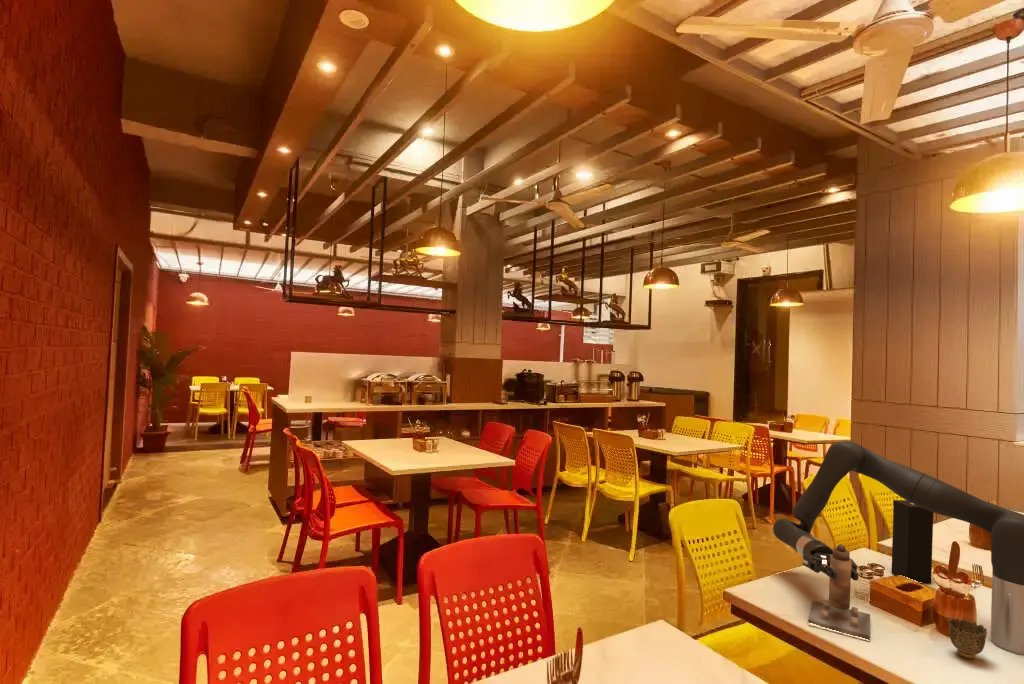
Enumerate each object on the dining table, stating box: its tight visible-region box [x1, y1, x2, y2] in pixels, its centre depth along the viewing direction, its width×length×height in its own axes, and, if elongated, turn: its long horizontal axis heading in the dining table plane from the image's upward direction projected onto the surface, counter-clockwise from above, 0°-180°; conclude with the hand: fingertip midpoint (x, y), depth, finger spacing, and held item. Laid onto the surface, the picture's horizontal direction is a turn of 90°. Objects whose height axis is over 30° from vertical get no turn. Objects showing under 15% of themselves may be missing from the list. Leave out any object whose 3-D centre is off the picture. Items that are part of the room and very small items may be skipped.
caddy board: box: [807, 599, 871, 640], centre depth 153 cm, size 14×14×4 cm
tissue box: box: [891, 499, 935, 585], centre depth 183 cm, size 8×8×28 cm
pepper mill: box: [828, 543, 853, 610], centre depth 153 cm, size 5×5×17 cm
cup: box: [947, 617, 988, 661], centre depth 137 cm, size 8×7×8 cm
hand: (845, 576), depth 150 cm, fingers closed on pepper mill, 5 cm apart
